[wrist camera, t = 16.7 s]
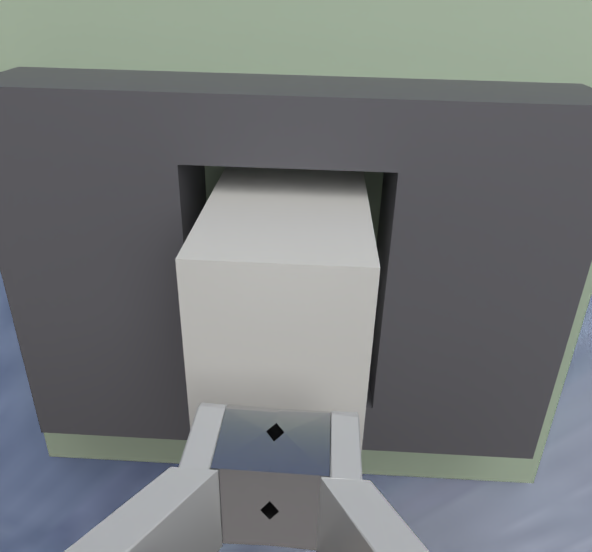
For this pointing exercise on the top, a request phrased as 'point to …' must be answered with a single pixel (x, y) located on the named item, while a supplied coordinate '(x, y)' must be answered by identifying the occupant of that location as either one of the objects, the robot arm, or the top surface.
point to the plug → (280, 292)
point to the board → (313, 156)
